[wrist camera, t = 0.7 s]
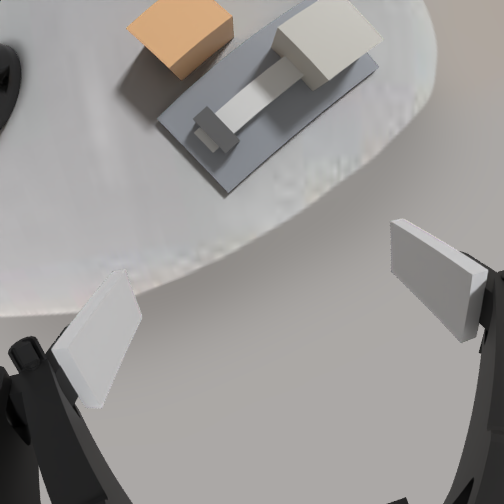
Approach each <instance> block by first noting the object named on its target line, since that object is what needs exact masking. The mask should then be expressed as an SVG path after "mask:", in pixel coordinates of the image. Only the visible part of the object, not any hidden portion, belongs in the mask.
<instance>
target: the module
mask: <svg viewBox="0 0 504 504" xmlns="http://www.w3.org/2000/svg"><path fill="white" fill-rule="evenodd" d="M126 29H127V30H128V31H129V32H130V33H131V34H133V35H134V36H135V37H136V38H137V39H138V40H139V41H140V42H141V43H142V44H143V45H144V46H145V47H147V48H148V49H149V50H150V51H151V52H152V53H153V54H154V55H155V56H156V57H157V58H158V59H160V60H161V61H162V62H163V63H164V64H165V65H166V66H167V67H168V68H169V69H170V70H171V71H172V72H173V73H174V74H175V75H176V76H177V77H178V78H179V79H180V80H181V81H183V80H184V79H185V78H186V77H187V76H188V75H189V74H190V73H192V72H193V71H194V70H195V69H196V68H197V67H198V66H200V65H201V64H202V63H203V62H204V61H205V60H207V59H208V58H209V57H210V56H211V55H213V54H214V53H215V52H216V51H218V50H219V49H220V48H221V47H222V46H224V45H225V44H226V43H228V42H229V41H230V40H231V39H233V38H234V31H233V17H232V15H230V14H229V13H228V12H227V11H226V10H225V9H224V8H222V7H221V6H220V5H219V4H218V3H216V2H215V1H214V0H158V1H157V2H156V3H154V4H153V5H152V6H151V7H149V8H148V9H147V10H146V11H145V12H144V13H142V14H141V15H140V16H139V17H138V18H137V19H136V20H135V21H133V22H132V23H131V24H130V25H129V26H128V27H127V28H126Z"/></svg>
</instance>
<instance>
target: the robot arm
mask: <svg viewBox="0 0 504 504" xmlns="http://www.w3.org/2000/svg"><path fill="white" fill-rule="evenodd" d="M0 1H1V0H0ZM20 80H21V67H20V61H19V58H18V56H17V54H16V52H15V51H14V50H13V49H12V48H11V47H9V46H7V45H3V44H0V129H1V128H2V127H3V125H4V124H5V122H6V121H7V119H8V118H9V116H10V114H11V112H12V110H13V107H14V105H15V102H16V99H17V96H18V92H19V87H20ZM390 227H391V272H392V273H393V274H394V275H395V276H396V277H397V278H398V279H399V280H400V281H401V282H403V284H404V285H405V286H406V287H407V288H409V289H410V291H411V292H412V293H413V294H414V295H416V297H418V299H419V300H421V302H423V304H424V305H425V306H426V307H427V308H428V309H429V310H430V311H431V312H432V313H433V314H434V315H435V316H436V317H437V318H438V319H439V320H440V321H441V322H442V323H443V324H444V325H445V327H446V328H447V329H448V330H449V331H450V332H451V333H452V334H453V335H454V336H455V337H456V338H457V339H458V341H460V343H463V342H465V341H468V340H470V339H473V338H475V337H476V335H477V331H478V326H479V323H480V324H481V325H482V326H483V327H484V328H485V330H484V334H483V339H482V342H481V346H480V350H479V353H481V362H480V369H479V376H478V384H477V390H476V395H475V401H474V406H473V412H472V416H471V421H470V425H469V429H468V434H467V437H466V441H465V445H464V449H463V453H462V456H461V460H460V463H459V466H458V469H457V473H456V476H455V479H454V482H453V484H452V487H451V490H450V492H449V494H448V496H447V498H446V500H445V502H444V503H443V504H504V270H503V271H499V272H498V273H497V272H495V271H494V270H492V269H491V268H489V267H488V266H486V265H484V264H483V263H481V262H480V261H478V260H477V259H475V258H474V257H472V256H470V255H469V254H467V253H464V252H461V251H458V250H456V249H455V248H453V247H451V246H450V245H448V244H446V243H445V242H443V241H442V240H440V239H438V238H436V237H435V236H433V235H431V234H430V233H428V232H426V231H424V230H423V229H421V228H419V227H418V226H416V225H414V224H412V223H410V222H409V221H407V220H405V219H398V220H392V221H390ZM141 319H142V314H141V311H140V309H139V306H138V303H137V300H136V297H135V295H134V292H133V289H132V286H131V283H130V280H129V277H128V274H127V271H126V269H123V270H118V271H113V272H112V273H111V274H110V275H109V276H108V278H107V279H106V280H105V281H104V282H103V284H102V285H101V286H100V287H99V288H98V290H97V291H96V292H95V293H94V294H93V296H92V297H91V298H90V299H89V301H88V302H87V303H86V304H85V306H84V307H83V308H82V309H81V311H80V312H79V313H78V314H77V316H76V317H75V318H74V320H73V321H72V322H71V323H70V324H69V325H68V326H67V327H65V328H64V330H63V331H62V332H61V334H60V336H58V338H57V339H56V341H55V342H54V343H53V344H52V345H51V347H50V348H49V350H48V351H47V352H46V354H45V353H44V351H43V349H42V348H41V346H40V344H39V342H38V340H37V339H36V337H33V336H30V337H26V338H23V339H21V340H19V341H18V342H16V343H15V344H14V345H12V346H11V348H10V349H9V351H8V354H9V356H10V358H11V360H12V362H13V363H14V365H15V367H16V368H17V370H18V372H19V374H16V375H12V376H9V375H8V373H7V371H6V370H5V368H4V367H2V366H0V504H41V502H40V490H39V468H40V471H41V474H42V477H43V480H44V483H45V486H46V489H47V492H48V494H49V497H50V500H51V503H52V504H132V502H131V501H130V499H129V498H128V496H127V495H126V493H125V492H124V490H123V489H122V487H121V485H120V484H119V482H118V481H117V479H116V478H115V476H114V474H113V473H112V471H111V469H110V468H109V466H108V464H107V463H106V461H105V459H104V457H103V456H102V454H101V452H100V450H99V448H98V447H97V445H96V443H95V441H94V439H93V438H92V435H91V434H90V431H89V430H88V428H87V426H86V424H85V422H84V419H83V417H82V415H81V413H80V411H79V409H78V408H77V406H76V405H75V401H76V399H77V398H78V397H79V399H80V400H81V401H82V403H83V405H84V406H85V407H86V408H102V407H103V404H104V402H105V400H106V397H107V395H108V392H109V390H110V387H111V385H112V383H113V381H114V378H115V376H116V374H117V372H118V369H119V367H120V364H121V362H122V360H123V358H124V356H125V354H126V351H127V349H128V347H129V345H130V343H131V341H132V338H133V336H134V334H135V332H136V330H137V328H138V326H139V323H140V321H141ZM38 465H39V468H38ZM388 504H408V501H407V499H406V497H405V498H402V499H400V500H397V501H394V502H391V503H388Z"/></svg>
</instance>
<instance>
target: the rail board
mask: <svg viewBox="0 0 504 504" xmlns="http://www.w3.org/2000/svg"><path fill="white" fill-rule="evenodd" d="M383 40H384V39H383V38H382V36H381V35H380V34H379V33H378V32H377V31H376V30H375V28H374V27H373V26H372V25H371V24H370V23H369V22H368V21H367V20H366V18H365V17H364V16H363V15H362V14H361V13H360V12H359V11H358V10H357V9H356V8H355V7H354V6H353V5H352V4H351V3H350V2H349V1H348V0H304V1H302V2H301V3H299V4H298V5H296V6H294V7H293V8H291V9H290V10H288V11H287V12H285V13H284V14H282V15H281V16H279V17H278V18H276V19H275V20H274V21H272V22H271V23H269V24H268V25H266V26H265V27H264V28H262V29H261V30H260V31H258V32H257V33H255V34H254V35H253V36H251V37H250V38H249V39H247V40H246V41H245V42H243V43H242V44H241V45H240V46H238V47H237V48H236V49H234V50H233V51H232V52H231V53H229V54H228V55H227V56H226V57H224V58H223V59H222V60H221V61H220V62H218V63H217V64H216V65H215V66H214V67H212V68H211V69H210V70H209V71H208V72H206V73H205V74H204V75H203V76H202V77H201V78H200V79H198V80H197V81H196V82H195V83H194V84H193V85H192V86H191V87H189V88H188V89H187V90H186V91H185V92H184V93H183V94H182V95H181V96H180V97H179V98H178V99H176V100H175V101H174V102H173V103H172V104H171V105H170V106H169V107H168V108H167V109H166V110H165V111H164V112H163V113H162V114H161V115H160V116H159V117H158V118H157V119H158V120H159V121H160V122H161V123H162V124H163V125H164V127H165V128H166V129H167V130H168V131H169V132H170V133H171V134H172V135H173V136H174V137H175V138H176V139H177V140H178V141H179V142H180V143H181V144H182V145H183V146H184V147H185V148H186V149H187V150H188V151H189V152H190V153H191V154H192V155H193V156H194V157H195V159H196V160H197V161H198V162H199V163H200V164H201V165H202V166H203V167H204V168H205V169H206V170H207V171H208V172H209V173H210V174H211V175H212V176H213V177H214V178H215V179H216V180H217V182H218V183H219V184H220V185H221V186H222V187H223V188H224V189H225V190H226V191H227V192H228V193H229V192H230V191H231V190H232V189H233V188H234V187H236V186H237V185H238V184H239V183H240V182H241V181H242V180H243V179H244V178H246V177H247V176H248V175H249V174H250V173H251V172H252V171H253V170H255V169H256V168H257V167H258V166H259V165H260V164H261V163H262V162H264V161H265V160H266V159H267V158H268V157H269V156H271V155H272V154H273V153H274V152H275V151H276V150H277V149H279V148H280V147H281V146H282V145H283V144H284V143H286V142H287V141H288V140H289V139H290V138H291V137H293V136H294V135H295V134H296V133H297V132H299V131H300V130H301V129H302V128H303V127H305V126H306V125H307V124H308V123H309V122H311V121H312V120H313V119H314V118H315V117H317V116H318V115H319V114H320V113H322V112H323V111H324V110H325V109H326V108H328V107H329V106H330V105H331V104H333V103H334V102H335V101H336V100H338V99H339V98H340V97H341V96H343V95H344V94H345V93H346V92H348V91H349V90H350V89H352V88H353V87H354V86H355V85H357V84H358V83H359V82H361V81H362V80H363V79H364V78H366V77H367V76H368V75H370V74H371V73H372V72H374V71H375V70H376V69H377V68H379V66H378V65H377V64H376V62H375V61H374V60H373V59H372V57H371V56H370V55H369V54H368V53H367V52H368V51H369V50H371V49H372V48H373V47H375V46H376V45H378V44H379V43H380V42H382V41H383Z"/></svg>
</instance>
